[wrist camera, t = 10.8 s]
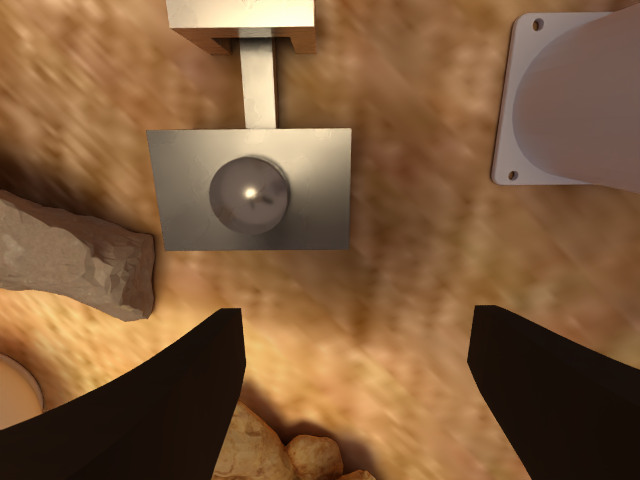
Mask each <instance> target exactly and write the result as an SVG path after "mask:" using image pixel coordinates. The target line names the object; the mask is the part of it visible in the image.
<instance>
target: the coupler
mask: <svg viewBox="0 0 640 480" xmlns="http://www.w3.org/2000/svg"><path fill="white" fill-rule="evenodd" d="M239 39H240V53H241V67H242V81H243V94H244V108H245V122H246V129H182V130H146V133H147V139H148V145H149V152H150V158H151V164H152V170H153V177H154V183H155V189H156V196H157V202H158V208H159V215H160V221H161V227H162V233H163V240H164V246H165V251H209V250H345V249H349V228H350V173H351V128H279V121H278V99H277V76H276V53H275V37H239Z"/></svg>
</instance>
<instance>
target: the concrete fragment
mask: <svg viewBox="0 0 640 480" xmlns="http://www.w3.org/2000/svg"><path fill="white" fill-rule="evenodd" d="M154 258H155V253H154V245H153V236H151V235H149V234H144V233H134V232H131V231H128V230H127V229H125V228H123V227H121V226H119V225H118V224H115V223H112V222H108V221H106V220H103V219H100V218H96V217H93V216H82V215H75V214H73V213H71V212H69V211H67V210H65V209H61V208H51V207H43V206H42V205H41V204H38V203H35V202H32V201H30V200H27V199H23V198H20V197H18V196H16V195H14V194H12V193H10V192H8V191H6V190H0V288H3V289H6V290H14V291H22V290H38V291H45V292H50V293H55V294H58V295H64V296H67V297H70V298H72V299H74V300H77V301H79V302H81V303H83V304H86V305H88V306H91V307H93V308H96V309H98V310H100V311H102V312H104V313H107V314H109V315H111V316H113V317H115V318H118V319H120V320H122V321H125V322H127V321H136V320H139V319H148V318H149V316H150V315H151V313H152V307H153V301H154V296H153V291H152V283H151V277H152V270H153V264H154Z"/></svg>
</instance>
